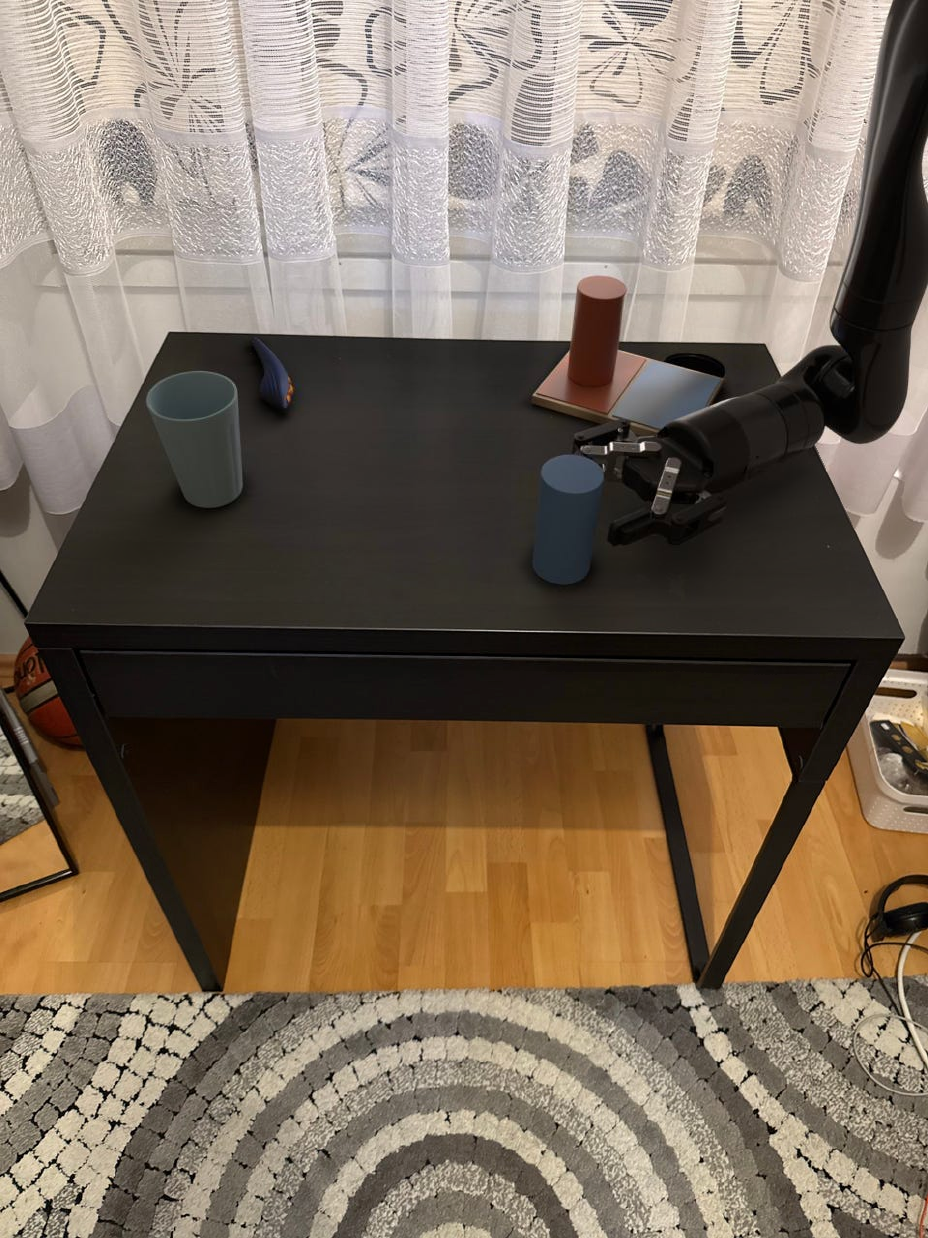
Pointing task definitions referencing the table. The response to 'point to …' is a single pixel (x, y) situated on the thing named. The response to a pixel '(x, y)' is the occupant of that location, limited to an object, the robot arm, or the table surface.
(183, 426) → the cup
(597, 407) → the board
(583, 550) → the blue canister
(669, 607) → the table surface
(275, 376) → the tapered navy handle
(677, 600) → the table surface
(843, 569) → the table surface
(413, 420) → the table surface
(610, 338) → the rust canister
